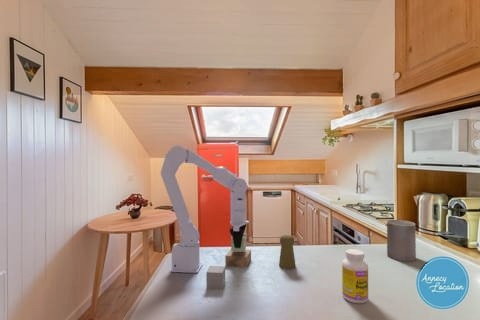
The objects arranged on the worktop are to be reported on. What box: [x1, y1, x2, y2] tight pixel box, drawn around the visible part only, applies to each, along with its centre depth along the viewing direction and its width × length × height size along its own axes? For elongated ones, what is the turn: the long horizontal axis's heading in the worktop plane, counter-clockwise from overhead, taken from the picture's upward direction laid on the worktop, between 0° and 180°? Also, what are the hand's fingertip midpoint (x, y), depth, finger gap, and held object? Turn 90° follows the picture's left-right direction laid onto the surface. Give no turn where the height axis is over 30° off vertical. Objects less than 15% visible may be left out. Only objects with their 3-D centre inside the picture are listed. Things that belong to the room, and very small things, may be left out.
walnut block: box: [224, 249, 252, 269], centre depth 103 cm, size 8×8×4 cm
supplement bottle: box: [341, 248, 369, 304], centre depth 75 cm, size 7×7×13 cm
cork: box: [278, 234, 297, 270], centre depth 99 cm, size 6×6×11 cm
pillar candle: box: [386, 218, 417, 263], centre depth 106 cm, size 10×10×15 cm
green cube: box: [230, 234, 247, 252], centre depth 103 cm, size 5×5×5 cm
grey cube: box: [205, 265, 226, 290], centre depth 84 cm, size 5×5×5 cm
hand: (238, 245), depth 103 cm, fingers closed on green cube, 5 cm apart
